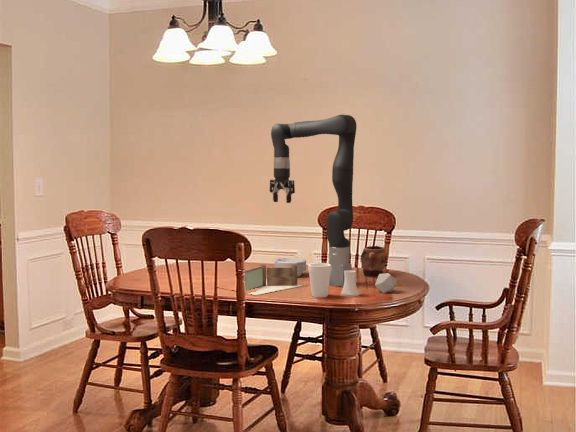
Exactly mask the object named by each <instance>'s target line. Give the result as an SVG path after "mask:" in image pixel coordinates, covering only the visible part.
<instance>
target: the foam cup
mask: <svg viewBox="0 0 576 432" xmlns="http://www.w3.org/2000/svg"><path fill="white" fill-rule="evenodd" d="M307 270H308V275H309V281H310V282H309V283H310V284H309V285H310V289H311V290H310V291H311V295H312V297H313V298H327V297H328V293H329V286H330V285H329V280H330V272H331V264H329V262H328V263H325V262H315V263H314V262H312V263H309V264H307Z"/></svg>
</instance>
